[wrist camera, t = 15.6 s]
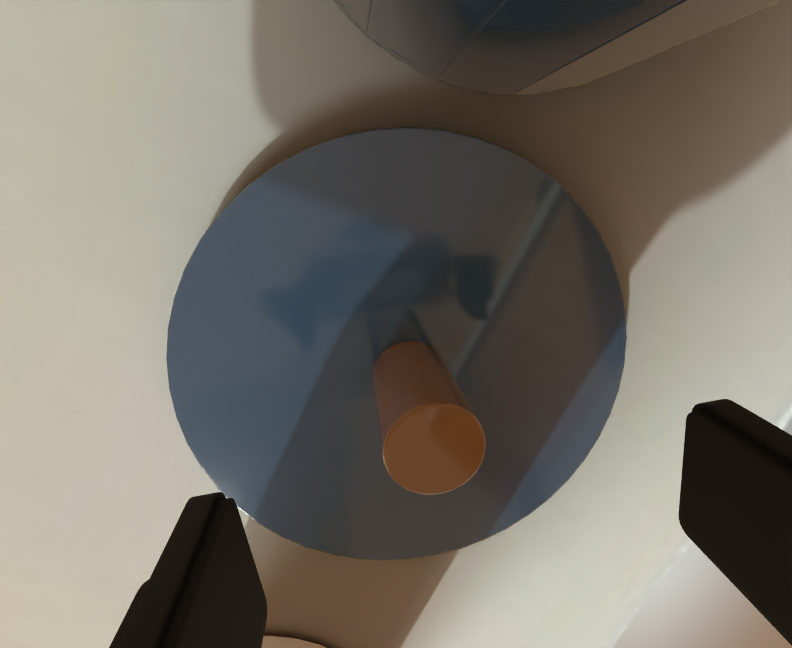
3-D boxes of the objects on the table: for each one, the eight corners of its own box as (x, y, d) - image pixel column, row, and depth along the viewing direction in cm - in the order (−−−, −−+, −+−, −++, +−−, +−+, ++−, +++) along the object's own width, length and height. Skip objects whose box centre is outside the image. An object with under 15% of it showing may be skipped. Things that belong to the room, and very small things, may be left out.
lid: (608, 499, 21) (712, 621, 15) (241, 573, 20) (198, 737, 14) (610, 99, 16) (770, 47, 10) (113, 170, 15) (-42, 159, 9)
